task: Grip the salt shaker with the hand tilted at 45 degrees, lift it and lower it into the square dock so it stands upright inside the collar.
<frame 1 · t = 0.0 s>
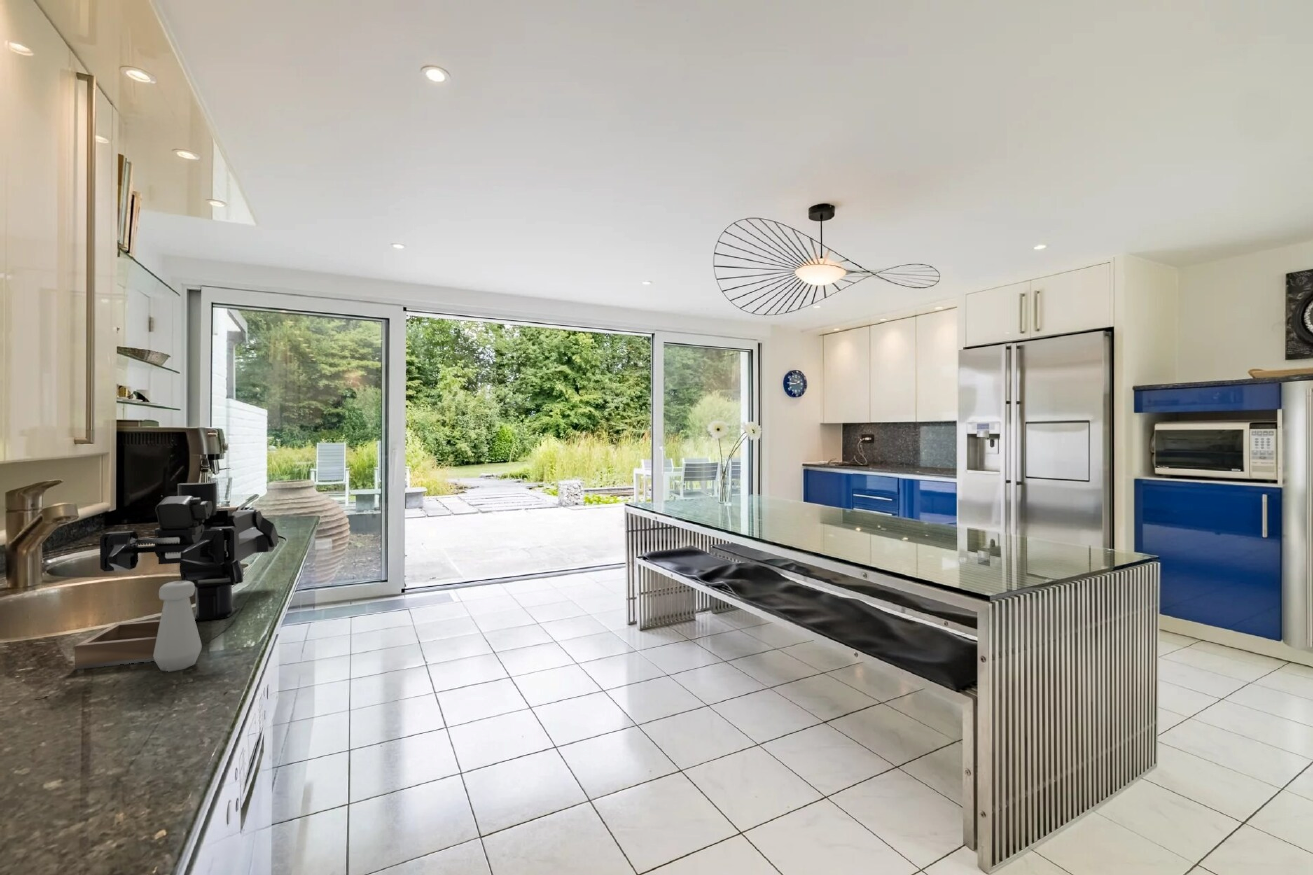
hand: (146, 558, 91), 17 cm above the counter, tool horizontal, fingers open, 9 cm apart
shaker dock: (138, 652, 96), on the counter
salt shaker: (178, 667, 91), on the counter
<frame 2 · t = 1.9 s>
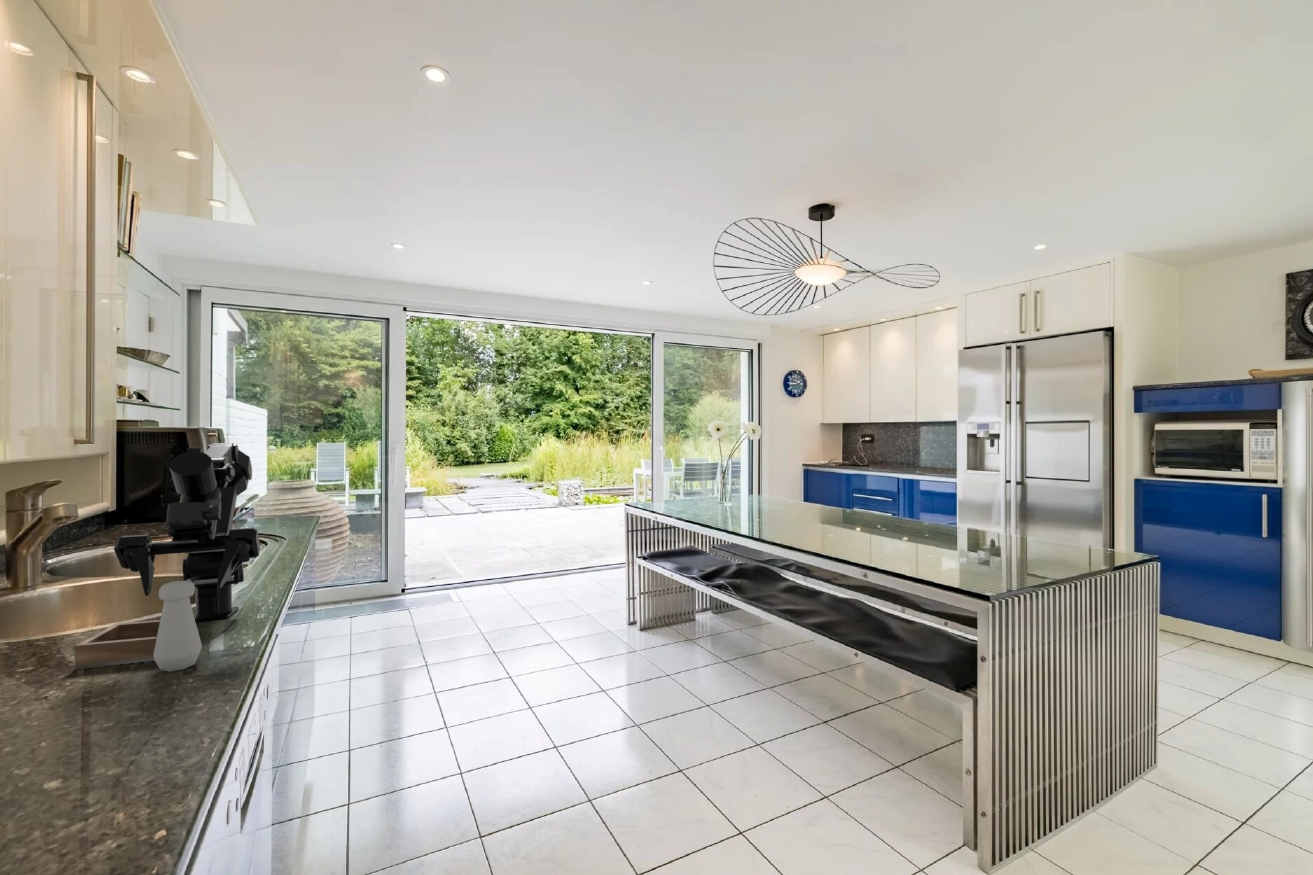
hand: (183, 590, 94), 11 cm above the counter, tool tilted 45°, fingers open, 9 cm apart
nothing on the counter moved.
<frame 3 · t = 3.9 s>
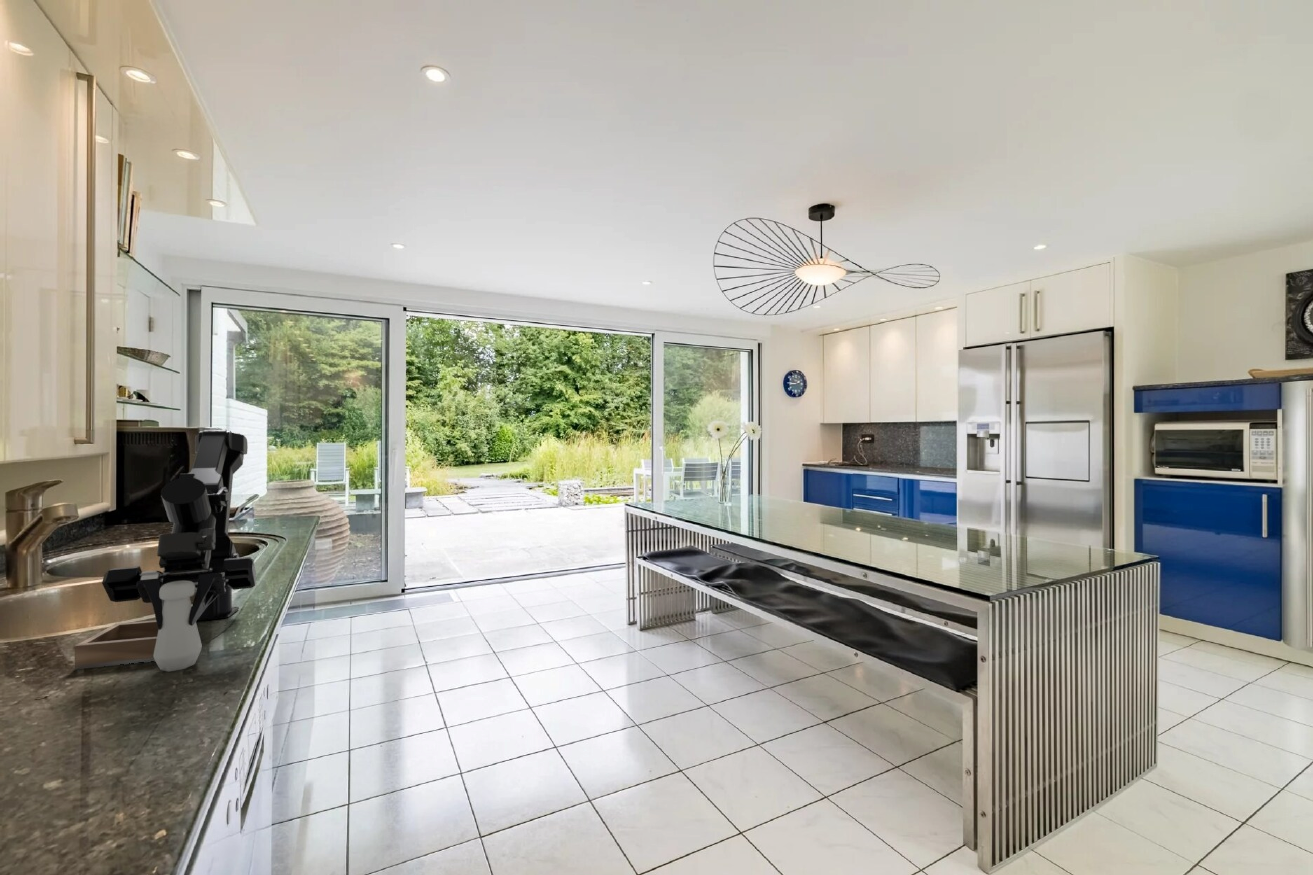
hand: (175, 626, 89), 7 cm above the counter, tool tilted 45°, fingers closed on salt shaker, 3 cm apart
salt shaker: (178, 667, 91), on the counter, touching gripper
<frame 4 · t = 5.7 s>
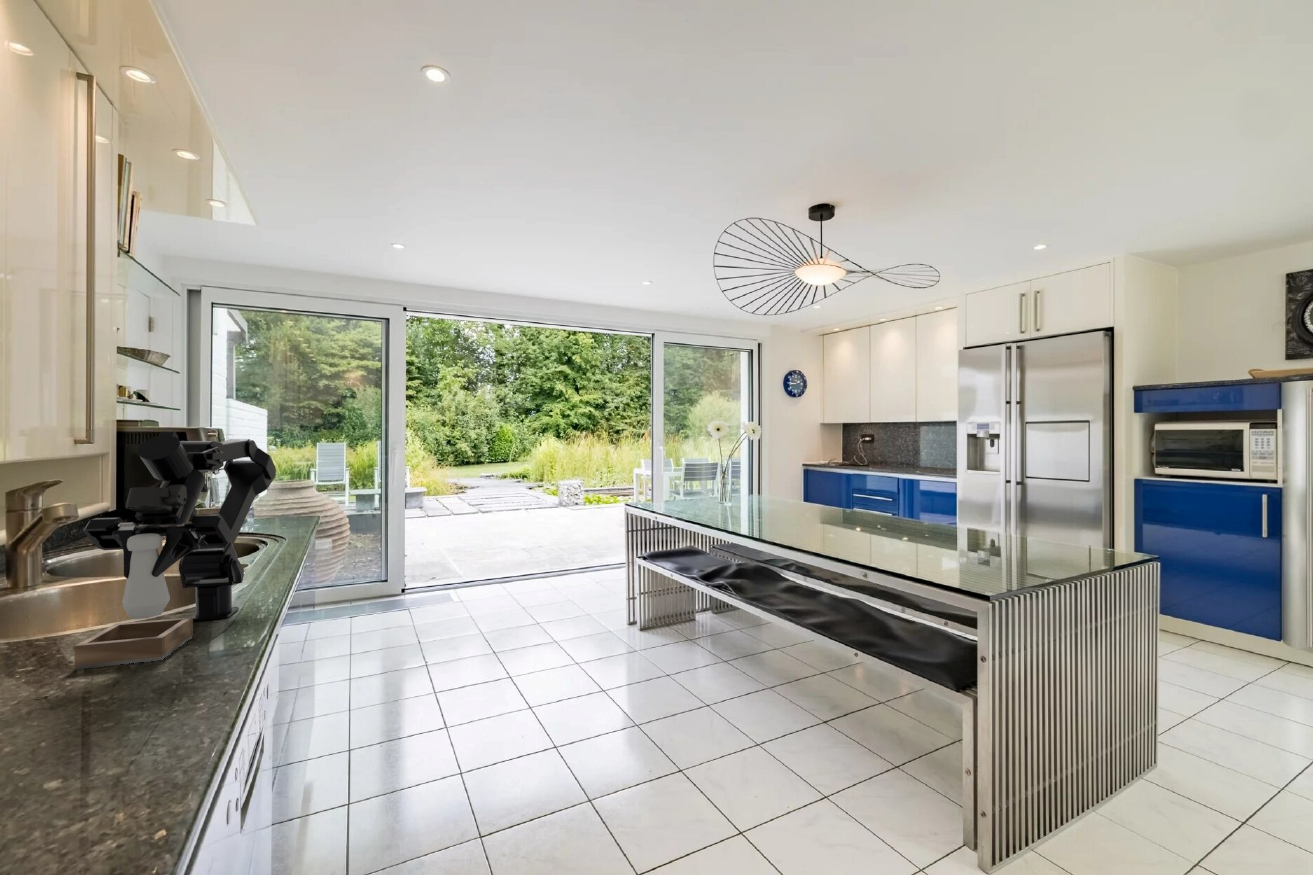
hand: (140, 576, 93), 13 cm above the counter, tool tilted 45°, fingers closed on salt shaker, 3 cm apart
salt shaker: (146, 616, 94), point 7 cm above the counter, touching gripper
when the fingers open (8 cm above the counter, at t = 7.5 s): salt shaker drops 1 cm, resting on shaker dock.
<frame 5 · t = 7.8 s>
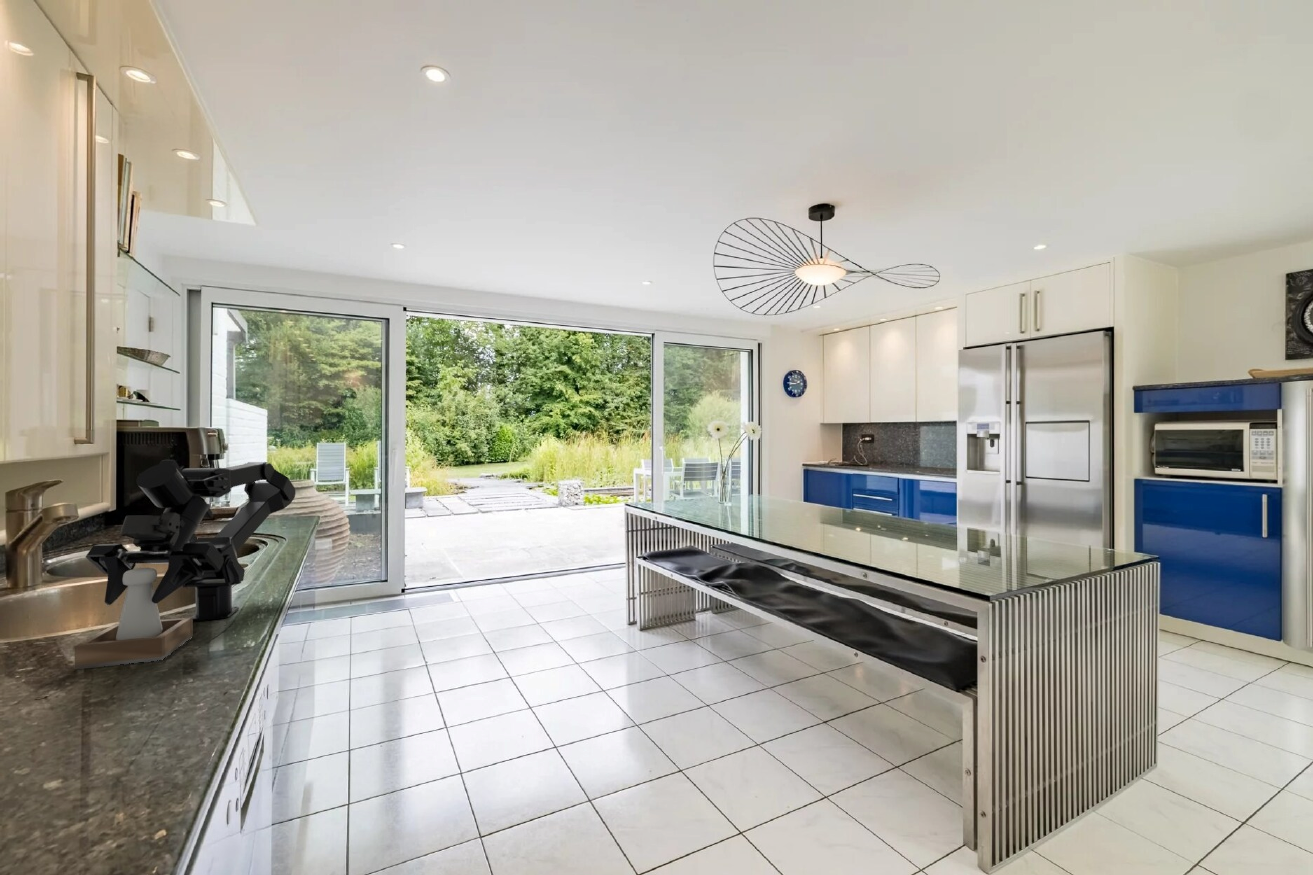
hand: (130, 602, 95), 9 cm above the counter, tool tilted 45°, fingers open, 7 cm apart
salt shaker: (139, 649, 97), resting on shaker dock
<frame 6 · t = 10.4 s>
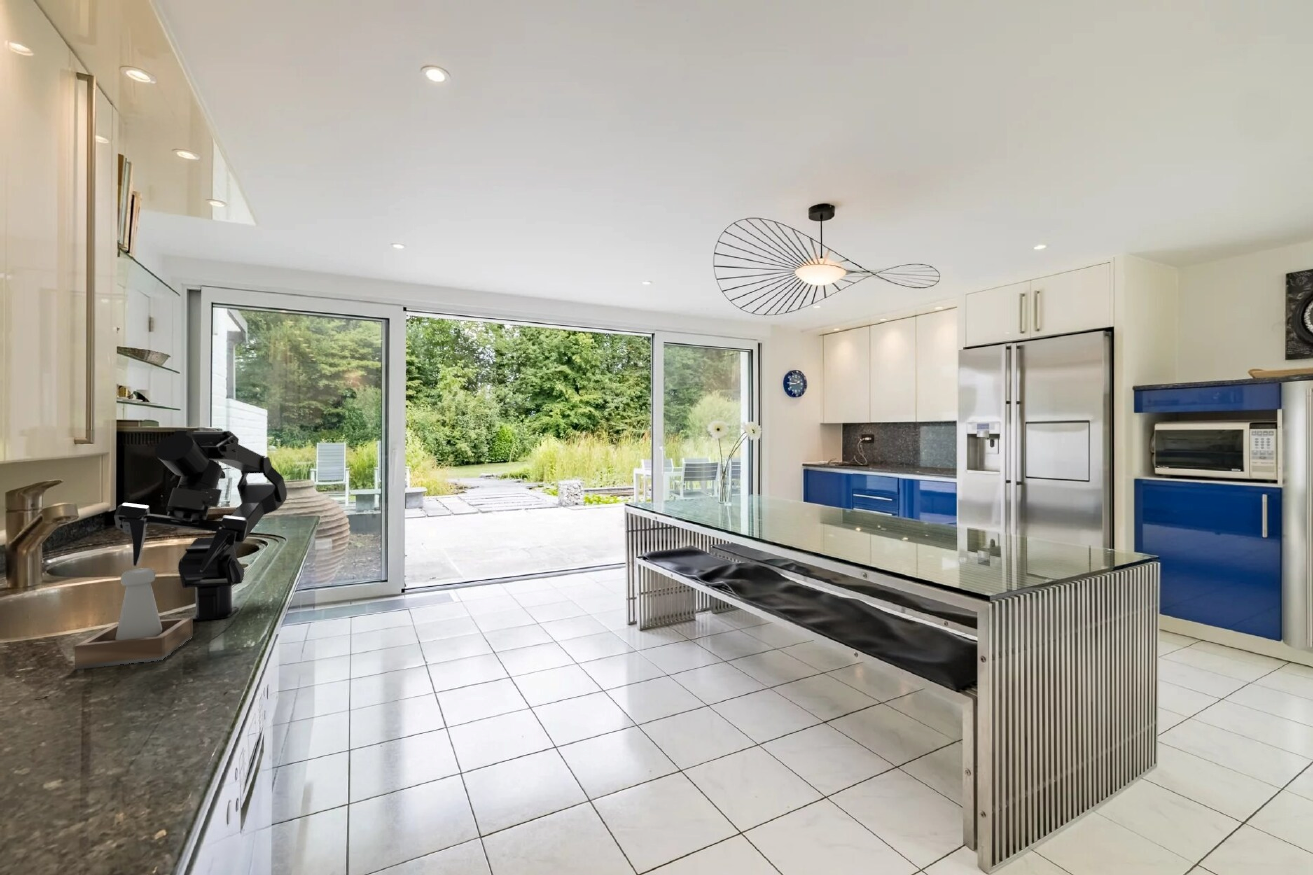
hand: (168, 568, 102), 13 cm above the counter, tool tilted 35°, fingers open, 9 cm apart
nothing on the counter moved.
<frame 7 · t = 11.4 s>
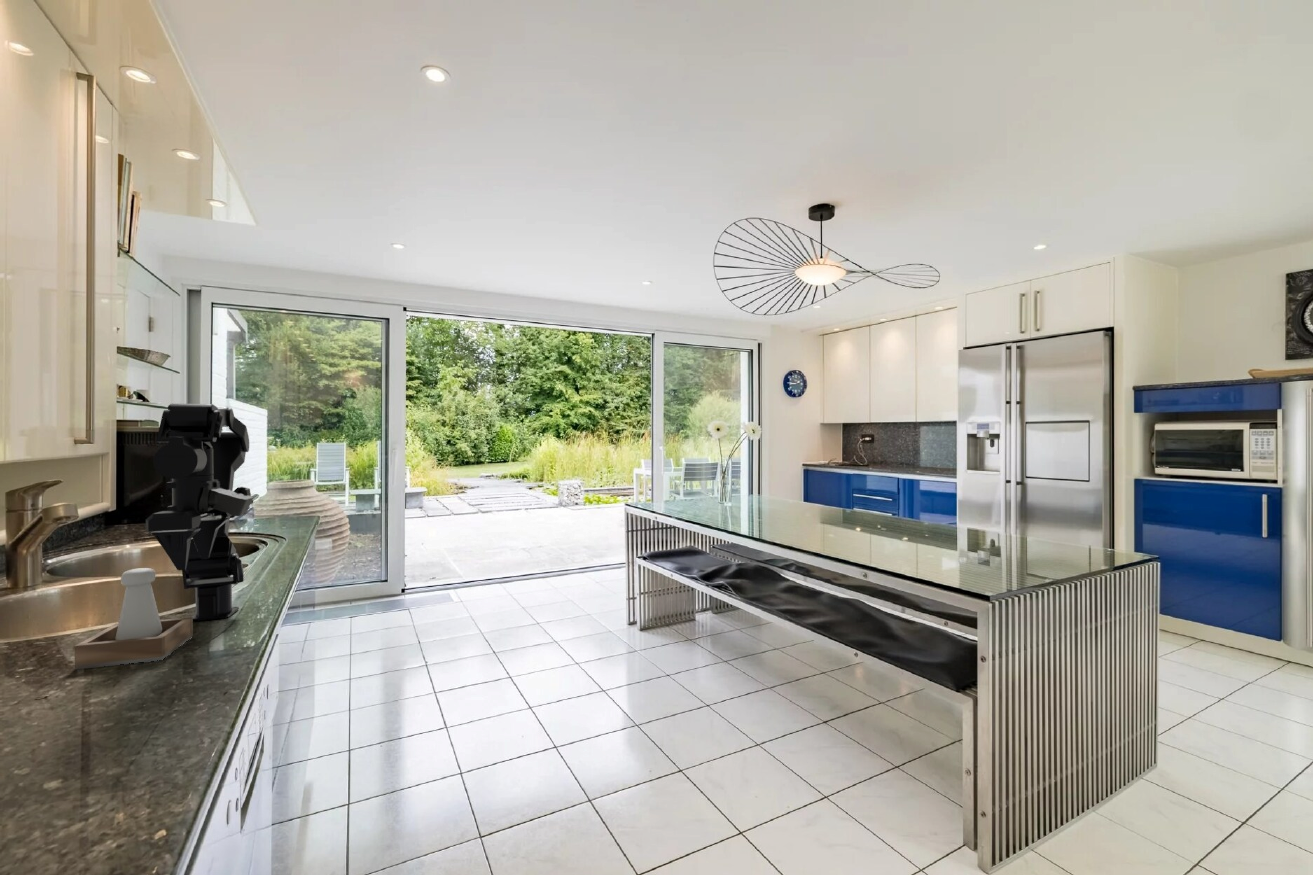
hand: (193, 564, 103), 13 cm above the counter, tool pointing down, fingers open, 9 cm apart
nothing on the counter moved.
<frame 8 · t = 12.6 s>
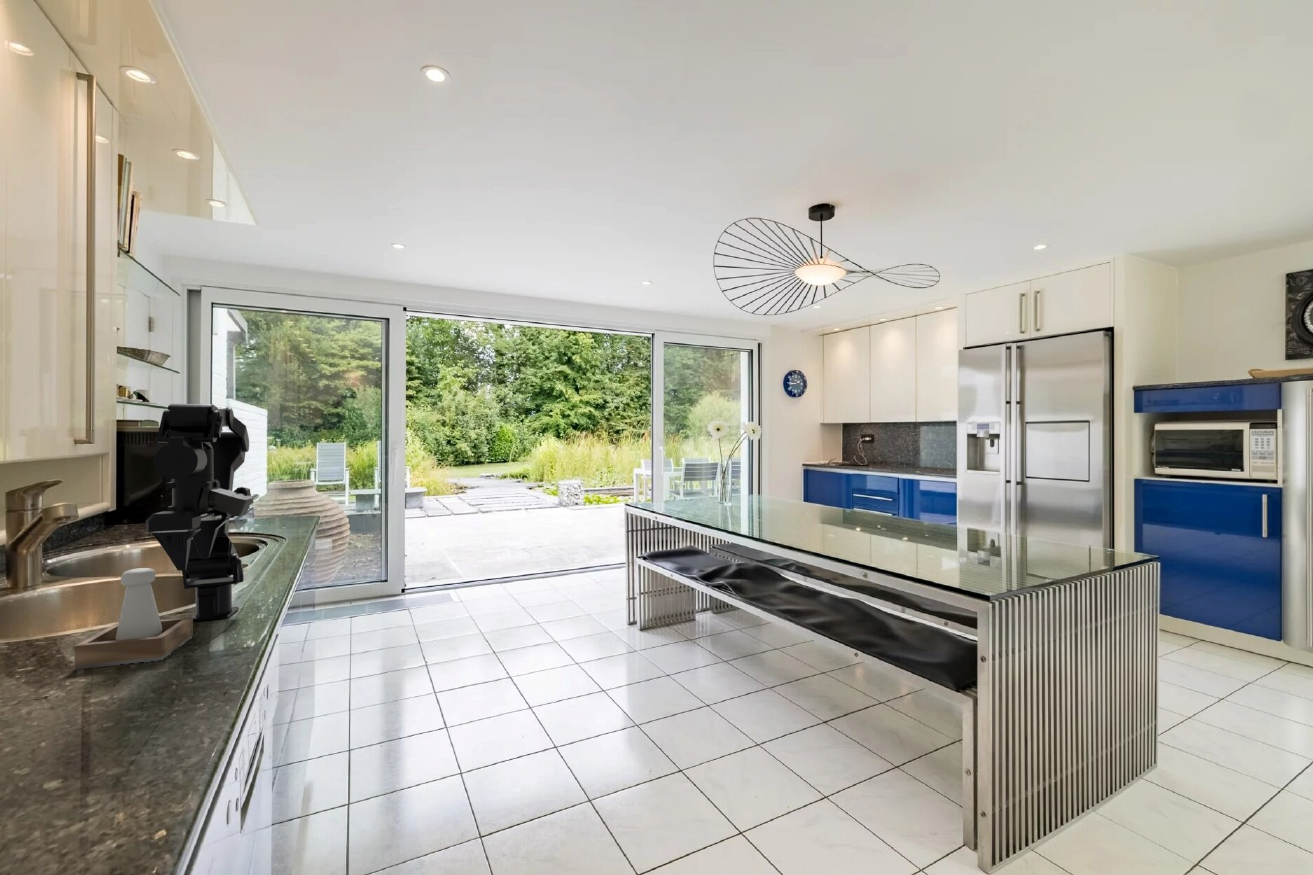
hand: (194, 564, 103), 13 cm above the counter, tool pointing down, fingers open, 9 cm apart
nothing on the counter moved.
at the end: salt shaker 0.3 cm off-centre on the shaker dock, point 0.4 cm above the shaker dock's base; salt shaker tilted 0°; the gripper is holding nothing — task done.
